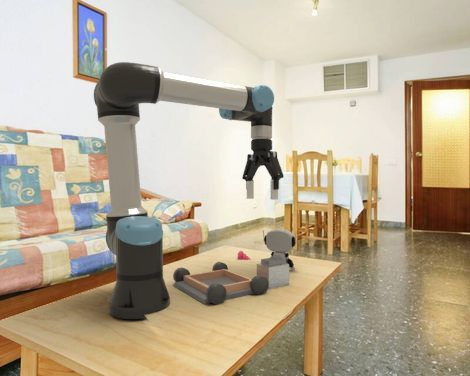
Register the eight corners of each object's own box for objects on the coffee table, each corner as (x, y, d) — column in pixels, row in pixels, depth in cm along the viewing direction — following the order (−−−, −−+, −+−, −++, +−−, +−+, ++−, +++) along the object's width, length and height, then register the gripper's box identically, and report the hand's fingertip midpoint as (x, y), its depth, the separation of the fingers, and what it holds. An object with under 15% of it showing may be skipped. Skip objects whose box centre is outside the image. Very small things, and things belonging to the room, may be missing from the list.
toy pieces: (236, 265, 136) (236, 254, 136) (237, 259, 147) (237, 249, 147) (266, 265, 135) (266, 254, 135) (266, 259, 146) (266, 249, 146)
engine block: (268, 289, 103) (268, 262, 103) (256, 284, 108) (256, 259, 108) (289, 285, 107) (289, 259, 107) (276, 280, 112) (276, 256, 112)
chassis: (208, 306, 88) (208, 286, 88) (171, 284, 108) (171, 268, 108) (269, 292, 99) (269, 275, 99) (226, 275, 119) (226, 260, 119)
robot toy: (298, 270, 125) (298, 229, 125) (295, 273, 121) (294, 230, 121) (266, 267, 131) (266, 227, 131) (262, 270, 127) (261, 228, 126)
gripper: (294, 135, 115) (294, 199, 115) (249, 143, 136) (249, 198, 136) (276, 133, 111) (277, 200, 111) (233, 142, 131) (233, 198, 131)
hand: (261, 199), depth 123 cm, fingers open, 13 cm apart
